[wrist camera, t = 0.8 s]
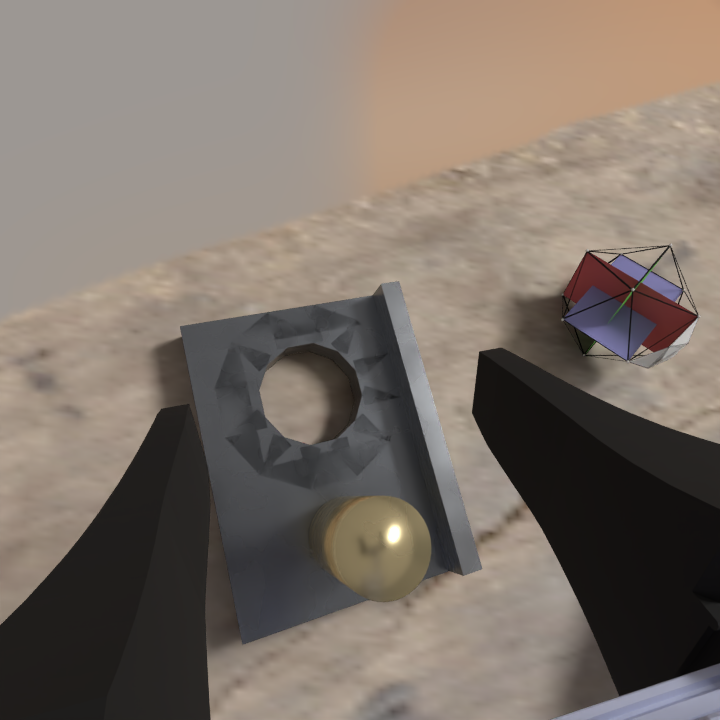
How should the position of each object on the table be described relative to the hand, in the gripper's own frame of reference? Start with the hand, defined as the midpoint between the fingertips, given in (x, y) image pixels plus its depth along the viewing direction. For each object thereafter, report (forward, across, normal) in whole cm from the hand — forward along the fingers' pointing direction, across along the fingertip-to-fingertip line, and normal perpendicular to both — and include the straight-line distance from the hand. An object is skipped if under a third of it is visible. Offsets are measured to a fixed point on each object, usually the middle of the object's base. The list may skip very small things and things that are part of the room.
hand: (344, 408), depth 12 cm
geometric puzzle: (+15, -19, +9) cm, 26 cm away
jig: (+9, 0, +11) cm, 14 cm away
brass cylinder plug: (+5, -1, +12) cm, 13 cm away
